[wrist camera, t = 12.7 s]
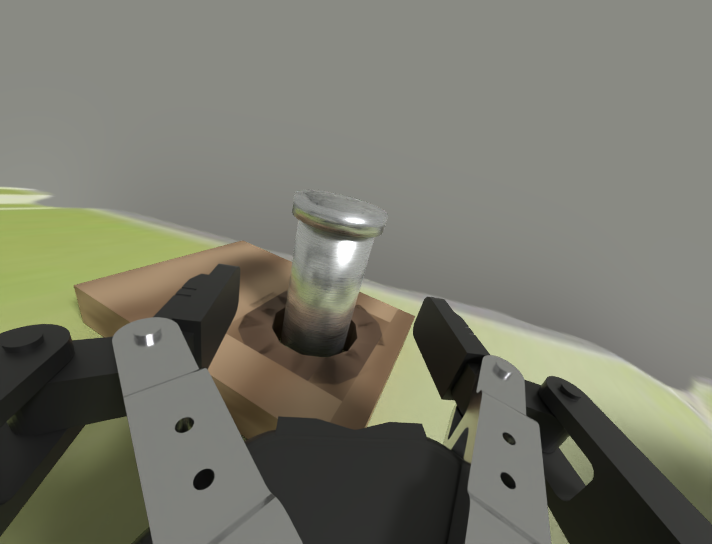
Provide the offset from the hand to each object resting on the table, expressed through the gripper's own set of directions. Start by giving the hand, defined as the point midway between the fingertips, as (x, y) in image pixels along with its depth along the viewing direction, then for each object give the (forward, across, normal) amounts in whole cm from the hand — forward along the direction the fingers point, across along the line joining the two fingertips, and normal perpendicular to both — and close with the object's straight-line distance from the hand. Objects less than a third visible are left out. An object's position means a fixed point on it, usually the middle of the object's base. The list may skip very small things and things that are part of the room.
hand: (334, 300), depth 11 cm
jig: (+8, +3, +9) cm, 12 cm away
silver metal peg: (+6, 0, +9) cm, 11 cm away
